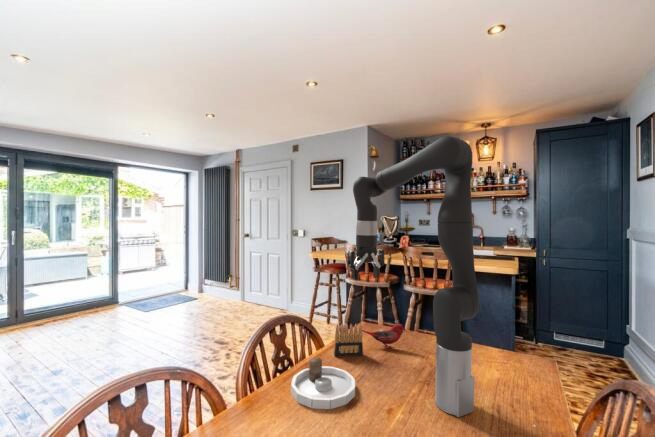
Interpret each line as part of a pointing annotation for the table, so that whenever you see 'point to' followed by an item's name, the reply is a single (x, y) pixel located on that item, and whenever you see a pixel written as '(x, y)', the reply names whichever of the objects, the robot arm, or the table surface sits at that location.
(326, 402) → the ring tray
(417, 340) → the table surface
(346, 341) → the ammunition clip
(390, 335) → the decorative bird figurine
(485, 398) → the table surface
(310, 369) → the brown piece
